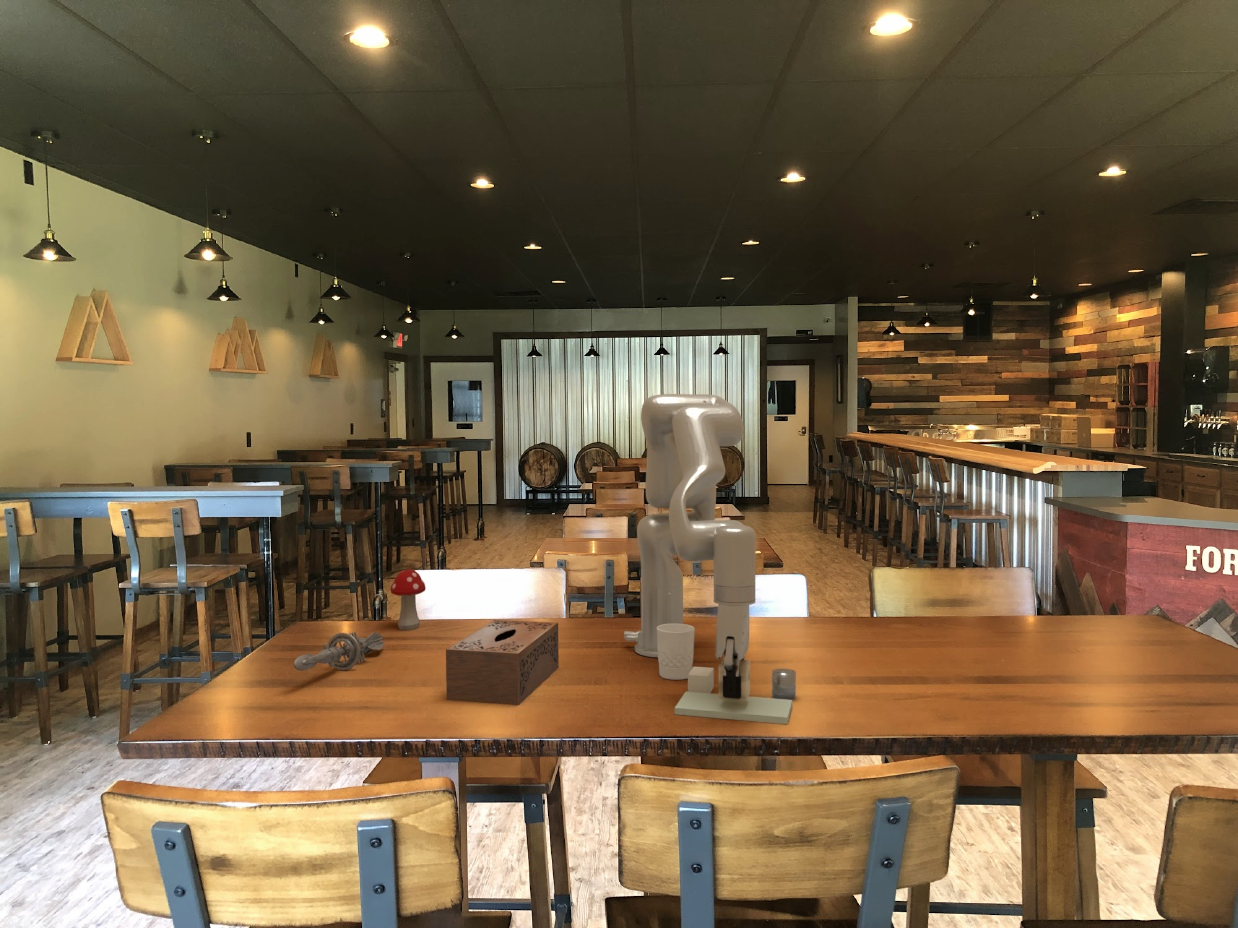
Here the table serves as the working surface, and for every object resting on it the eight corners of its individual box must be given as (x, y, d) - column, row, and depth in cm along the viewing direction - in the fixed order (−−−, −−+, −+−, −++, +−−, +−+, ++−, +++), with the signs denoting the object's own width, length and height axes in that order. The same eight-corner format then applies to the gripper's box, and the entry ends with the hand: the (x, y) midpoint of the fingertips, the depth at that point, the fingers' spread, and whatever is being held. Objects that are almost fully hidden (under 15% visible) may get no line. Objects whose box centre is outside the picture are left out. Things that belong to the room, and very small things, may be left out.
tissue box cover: (495, 664, 194) (494, 619, 193) (558, 668, 190) (558, 622, 190) (446, 701, 169) (445, 649, 168) (518, 706, 165) (518, 653, 165)
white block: (687, 695, 171) (687, 674, 171) (693, 686, 177) (693, 666, 177) (708, 696, 170) (708, 676, 170) (713, 687, 176) (713, 667, 176)
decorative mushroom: (400, 622, 233) (399, 565, 232) (431, 623, 232) (430, 566, 231) (385, 631, 223) (384, 572, 223) (417, 632, 222) (417, 573, 221)
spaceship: (271, 652, 173) (305, 638, 172) (361, 629, 207) (391, 618, 206) (283, 691, 172) (318, 677, 171) (372, 662, 206) (401, 651, 205)
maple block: (718, 698, 160) (718, 665, 160) (723, 690, 165) (723, 658, 164) (746, 700, 159) (746, 667, 158) (750, 692, 163) (750, 660, 163)
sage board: (674, 714, 160) (674, 707, 160) (685, 697, 169) (685, 691, 169) (787, 724, 154) (787, 717, 154) (792, 706, 164) (792, 699, 164)
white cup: (698, 671, 187) (698, 624, 186) (689, 682, 179) (689, 633, 179) (662, 668, 189) (662, 622, 189) (651, 678, 182) (651, 630, 181)
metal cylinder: (770, 700, 168) (771, 673, 168) (773, 693, 172) (773, 667, 172) (794, 702, 167) (794, 675, 166) (796, 695, 171) (796, 669, 171)
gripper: (721, 584, 170) (721, 678, 171) (705, 601, 154) (705, 705, 154) (760, 586, 168) (760, 681, 169) (749, 604, 152) (748, 709, 152)
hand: (734, 691), depth 162 cm, fingers closed on maple block, 4 cm apart
